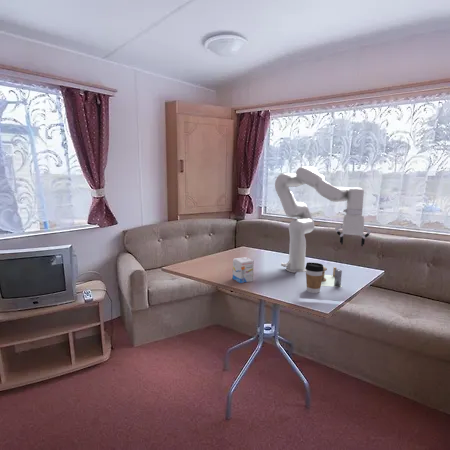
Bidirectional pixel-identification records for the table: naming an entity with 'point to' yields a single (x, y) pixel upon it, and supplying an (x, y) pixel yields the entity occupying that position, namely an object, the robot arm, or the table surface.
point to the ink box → (243, 269)
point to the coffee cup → (314, 277)
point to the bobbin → (323, 275)
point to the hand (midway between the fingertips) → (351, 244)
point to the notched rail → (333, 271)
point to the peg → (338, 278)
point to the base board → (329, 281)
